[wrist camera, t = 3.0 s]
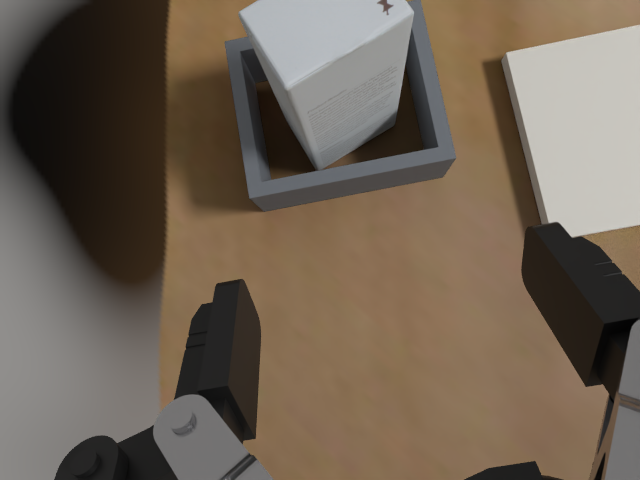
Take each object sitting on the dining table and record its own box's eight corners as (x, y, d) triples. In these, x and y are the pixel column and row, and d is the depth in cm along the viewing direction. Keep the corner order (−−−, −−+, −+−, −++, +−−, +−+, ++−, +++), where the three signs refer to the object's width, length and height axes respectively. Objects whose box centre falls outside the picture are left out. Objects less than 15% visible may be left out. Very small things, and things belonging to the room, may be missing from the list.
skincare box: (361, 74, 30) (362, -71, 18) (396, 126, 30) (420, 12, 18) (283, 122, 30) (233, 9, 18) (315, 175, 30) (286, 93, 18)
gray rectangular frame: (241, 74, 31) (224, 41, 27) (412, 38, 30) (420, -2, 26) (264, 211, 30) (249, 198, 26) (443, 177, 29) (456, 158, 25)
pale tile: (501, 60, 29) (506, 52, 28) (693, 21, 29) (705, 11, 28) (546, 242, 28) (553, 240, 27) (751, 205, 27) (766, 201, 26)
